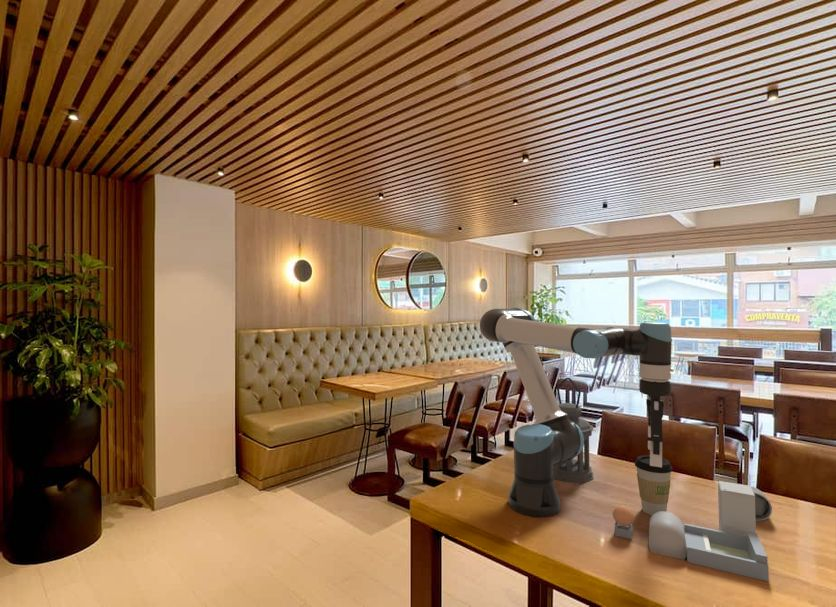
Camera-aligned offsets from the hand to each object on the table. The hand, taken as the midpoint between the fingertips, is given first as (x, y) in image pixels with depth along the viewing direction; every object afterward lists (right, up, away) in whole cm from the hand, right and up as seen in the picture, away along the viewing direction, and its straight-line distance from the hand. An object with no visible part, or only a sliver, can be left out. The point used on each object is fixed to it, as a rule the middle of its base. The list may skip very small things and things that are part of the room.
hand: (654, 457), depth 114 cm
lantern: (-9, -21, +39) cm, 45 cm away
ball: (-10, -15, -2) cm, 18 cm away
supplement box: (+20, -20, -4) cm, 28 cm away
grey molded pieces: (+2, -21, -9) cm, 23 cm away
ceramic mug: (+32, -20, +8) cm, 38 cm away
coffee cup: (+6, -20, +10) cm, 23 cm away
